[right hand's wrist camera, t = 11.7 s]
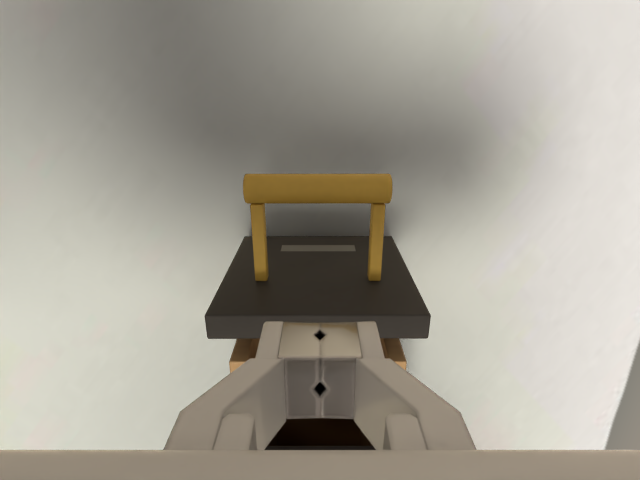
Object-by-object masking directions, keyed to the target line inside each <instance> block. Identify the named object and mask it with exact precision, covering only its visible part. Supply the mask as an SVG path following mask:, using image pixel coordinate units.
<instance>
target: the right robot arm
mask: <svg viewBox="0 0 640 480" xmlns="http://www.w3.org/2000/svg"><path fill="white" fill-rule="evenodd" d="M304 418H336V419H354V422H355V423H356V424H357V426H358V427H359V428H360V429H361V431H362V432H363V433H364V435H365V436H366V437H367V439H368V440H369V441H370V443H371V444H372V445H373V447H374V448H375V449H376V450H265V448H266V447H267V446H268V444H269V443H270V442H271V440H272V439H273V438H274V436H275V435H276V434H277V432H278V431H279V430H280V429H281V427H282V426H283V425H284V423H285V422H286V419H304ZM0 480H640V450H476V447H475V445H474V443H473V440H472V438H471V436H470V434H469V431H468V429H467V427H466V424H465V422H464V420H463V417H462V415H461V413H460V412H459V411H458V410H457V409H455V408H454V407H453V406H451V405H450V404H449V403H447V402H446V401H445V400H444V399H442V398H441V397H440V396H438V395H437V394H436V393H434V392H433V391H432V390H431V389H429V388H428V387H427V386H425V385H424V384H423V383H421V382H420V381H419V380H418V379H416V378H415V377H414V376H412V375H411V374H410V373H408V372H407V371H406V370H404V369H403V368H402V367H401V366H399V365H398V364H397V363H395V362H394V361H393V360H391V359H390V358H384V353H383V349H382V345H381V341H380V337H379V333H378V329H377V325H376V322H375V321H363V322H332V323H320V322H285V321H284V322H283V321H266V322H265V323H264V325H263V329H262V333H261V337H260V341H259V345H258V349H257V353H256V357H255V358H250V359H249V360H247V361H246V362H245V363H243V364H242V365H241V366H239V367H238V368H237V369H235V370H234V371H233V372H232V373H230V374H229V375H228V376H226V377H225V378H224V379H222V380H221V381H220V382H218V383H217V384H216V385H215V386H213V387H212V388H211V389H209V390H208V391H207V392H205V393H204V394H203V395H201V396H200V397H199V398H197V399H196V400H195V401H194V402H192V403H191V404H190V405H188V406H187V407H186V408H184V409H183V410H182V411H180V413H179V416H178V418H177V420H176V422H175V425H174V427H173V429H172V431H171V434H170V436H169V438H168V441H167V443H166V445H165V447H164V450H0Z"/></svg>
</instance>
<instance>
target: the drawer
mask: <svg viewBox="0 0 640 480" xmlns="http://www.w3.org/2000/svg"><path fill="white" fill-rule="evenodd" d="M243 194H244V200H245V202H246V203H251V205H250V210H251V224H252V236H246V237H244V239H243V241H242V243H241V245H240V247H239V249H238V251H237V253H236V255H235V257H234V259H233V261H232V263H231V265H230V267H229V269H228V271H227V273H226V275H225V277H224V279H223V281H222V283H221V285H220V287H219V289H218V291H217V293H216V295H215V297H214V299H213V301H212V303H211V305H210V307H209V308H208V310H207V312H206V314H205V322H206V330H207V337H208V338H209V339H237V340H236V343H235V346H234V349H233V352H232V355H231V358H230V361H229V365H230V373H232V372H233V371H234V370H235V369H237V368H238V367H239V366H241V365H242V364H243V363H245V362H246V361H247V360H249V359H250V358H255V357H256V353H257V349H258V345H259V341H260V337H261V333H262V329H263V325H264V323H265V322H266V321H283V322H284V321H285V322H320V323H332V322H363V321H375V322H376V325H377V329H378V333H379V337H380V341H381V345H382V349H383V353H384V358H390V359H391V360H393V361H394V362H395V363H397V364H398V365H399V366H401V367H402V368H403V369H404V370H406V363H407V362H406V359H405V355H404V352H403V349H402V346H401V343H400V340H399V338H428V334H429V326H430V317H431V316H430V313H429V311H428V309H427V307H426V305H425V303H424V301H423V299H422V297H421V295H420V293H419V291H418V289H417V287H416V285H415V283H414V281H413V279H412V277H411V275H410V273H409V271H408V269H407V267H406V265H405V263H404V260H403V258H402V256H401V254H400V252H399V250H398V248H397V246H396V244H395V242H394V240H393V238H392V237H391V236H383V235H384V219H385V204H384V203H390V201H391V197H392V178H391V175H390V174H245V176H244V180H243ZM265 203H371V214H370V235H369V236H266V219H265ZM268 446H373V445H372V444H371V443H370V441H369V440H368V439H367V437H366V436H365V435H364V433H363V432H362V431H361V429H360V428H359V427H358V426H357V424H356V423H355V422H354V419H336V418H304V419H286V422H285V423H284V425H283V426H282V427H281V429H280V430H279V431H278V432H277V434H276V435H275V436H274V438H273V439H272V440H271V442H270V443H269V444H268Z"/></svg>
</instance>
